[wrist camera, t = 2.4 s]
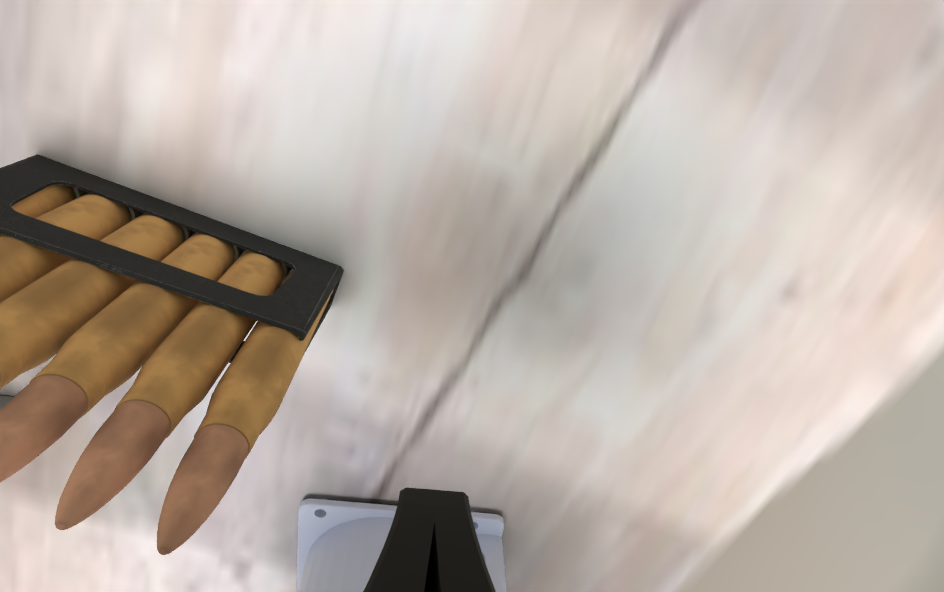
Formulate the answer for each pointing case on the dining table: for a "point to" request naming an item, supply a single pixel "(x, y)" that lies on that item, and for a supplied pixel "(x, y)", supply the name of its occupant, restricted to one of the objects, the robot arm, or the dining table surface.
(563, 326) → the dining table surface
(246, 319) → the ammunition clip
